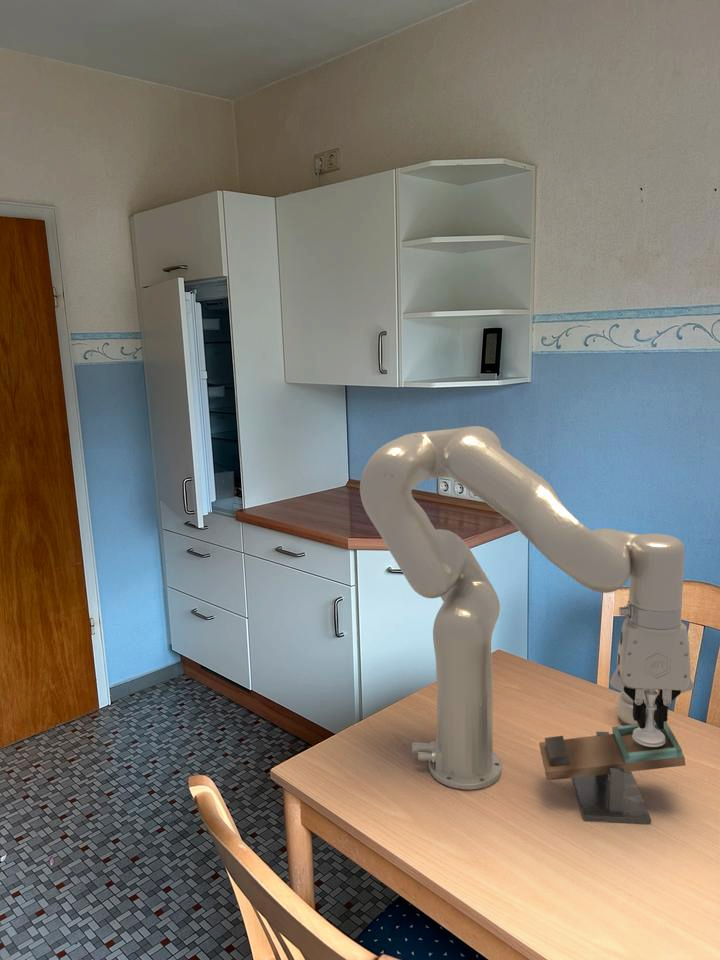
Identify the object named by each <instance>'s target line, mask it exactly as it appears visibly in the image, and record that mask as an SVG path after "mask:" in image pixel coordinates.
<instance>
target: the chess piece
mask: <svg viewBox="0 0 720 960" xmlns="http://www.w3.org/2000/svg"><path fill="white" fill-rule="evenodd" d="M644 694H645V697H646V701H647V702H646V703H645V705H646V709H647V711H646V723H645V728H644V729H641V728H640V727H639V728H636V729H635V730H634V731H633V735H632V737H633V739H634V740H635V741H636V742H637V743H639V744H641V745H644V746H648V747H660V746H662V745H664V744H665V742H666V741H665V735H664V734H663V733H662V732H661V731H659V730H657V729H656V728H655V725H654V722H655V721H654V713H653V710H656V709H657V705H656V704H654V702H655V699H656V697H657V696H658V691H657V690H645V691H644Z"/></svg>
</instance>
